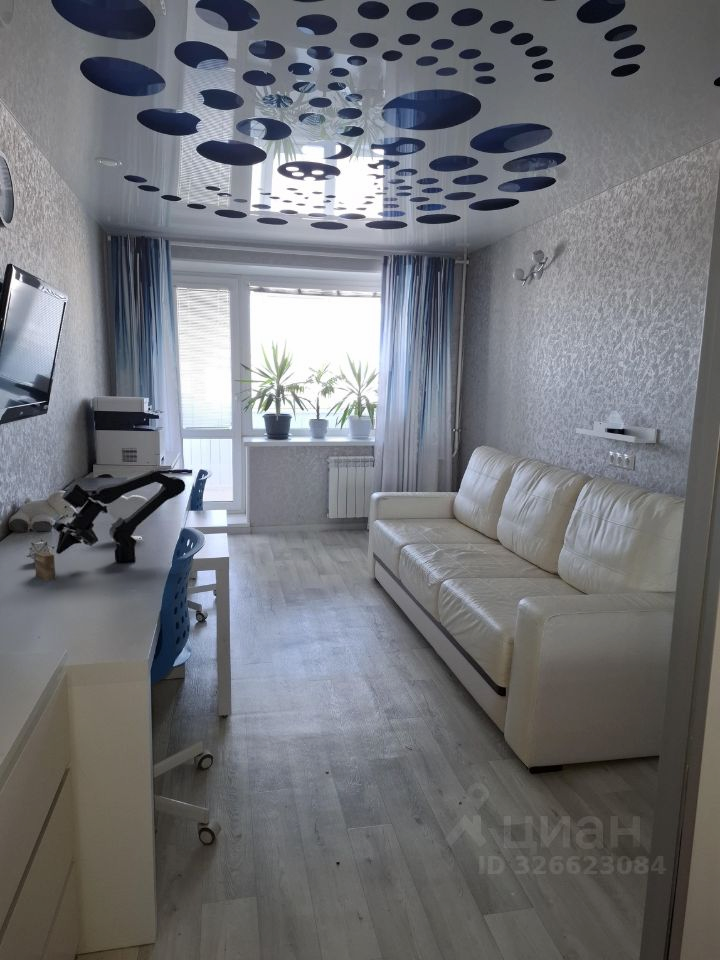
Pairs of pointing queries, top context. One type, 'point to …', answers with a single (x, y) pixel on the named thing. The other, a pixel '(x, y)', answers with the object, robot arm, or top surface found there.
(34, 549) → the game die
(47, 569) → the walnut block
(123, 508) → the heart sculpture
